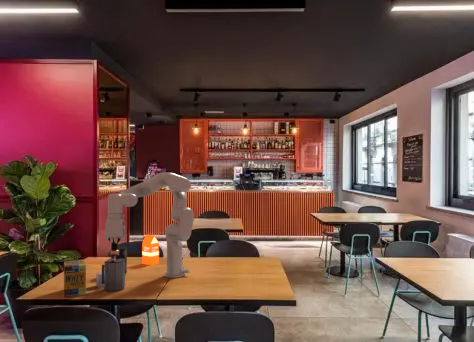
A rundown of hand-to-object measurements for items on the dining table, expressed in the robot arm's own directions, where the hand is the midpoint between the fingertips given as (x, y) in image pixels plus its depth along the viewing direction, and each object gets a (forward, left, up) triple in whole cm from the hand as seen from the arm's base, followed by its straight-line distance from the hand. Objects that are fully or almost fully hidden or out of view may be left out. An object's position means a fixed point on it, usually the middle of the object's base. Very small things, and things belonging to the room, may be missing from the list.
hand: (114, 250), depth 215 cm
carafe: (0, 0, -21) cm, 21 cm away
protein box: (+19, +7, -21) cm, 29 cm away
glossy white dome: (+9, -6, -21) cm, 24 cm away
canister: (+9, -31, -21) cm, 39 cm away
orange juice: (-2, -63, -21) cm, 67 cm away
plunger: (0, 0, -13) cm, 13 cm away
